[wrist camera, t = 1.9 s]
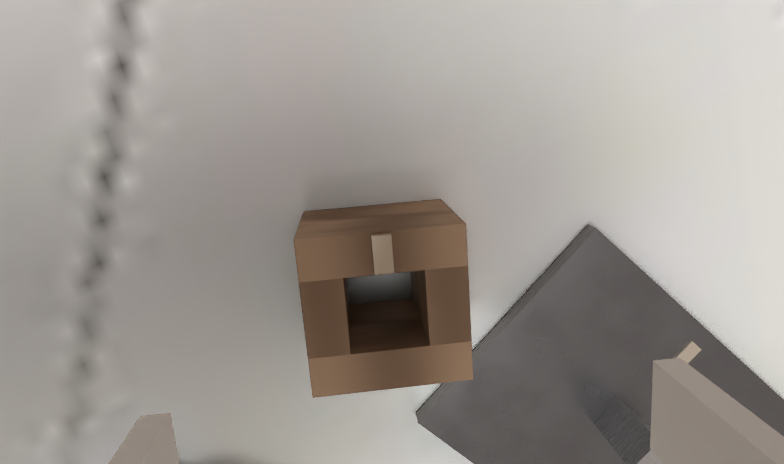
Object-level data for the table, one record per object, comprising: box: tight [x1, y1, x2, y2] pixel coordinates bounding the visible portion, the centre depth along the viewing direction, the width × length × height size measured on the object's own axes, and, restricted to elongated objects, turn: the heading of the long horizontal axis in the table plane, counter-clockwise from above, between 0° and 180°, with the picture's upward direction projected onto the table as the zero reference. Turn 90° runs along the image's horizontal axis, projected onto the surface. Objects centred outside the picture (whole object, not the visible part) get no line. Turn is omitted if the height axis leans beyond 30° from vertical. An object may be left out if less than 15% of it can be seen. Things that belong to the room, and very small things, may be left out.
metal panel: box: [416, 225, 784, 464], centre depth 30 cm, size 18×14×5 cm
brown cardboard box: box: [294, 199, 473, 398], centre depth 26 cm, size 7×7×6 cm
